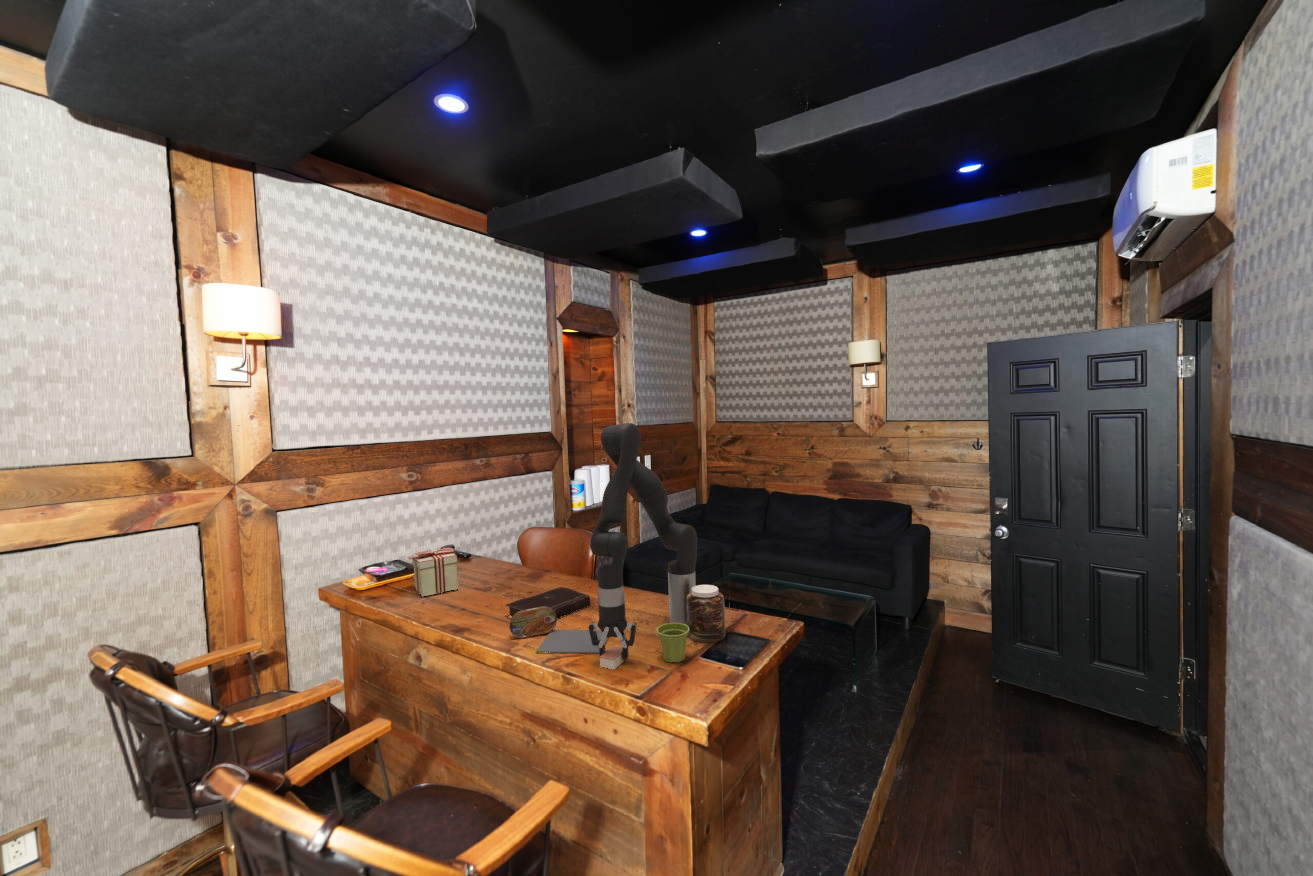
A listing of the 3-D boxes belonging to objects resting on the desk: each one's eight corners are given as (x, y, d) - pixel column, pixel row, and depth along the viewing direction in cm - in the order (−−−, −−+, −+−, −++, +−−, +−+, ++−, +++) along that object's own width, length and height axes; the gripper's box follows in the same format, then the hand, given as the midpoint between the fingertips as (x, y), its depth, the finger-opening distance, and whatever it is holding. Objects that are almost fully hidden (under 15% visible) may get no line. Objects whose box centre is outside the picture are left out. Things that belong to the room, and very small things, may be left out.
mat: (611, 631, 173) (611, 630, 173) (600, 654, 157) (600, 652, 157) (552, 631, 175) (552, 629, 175) (535, 653, 159) (535, 651, 159)
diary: (591, 608, 198) (590, 594, 197) (536, 630, 178) (536, 616, 178) (559, 597, 210) (558, 585, 209) (504, 617, 190) (504, 604, 190)
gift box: (446, 580, 237) (444, 542, 236) (461, 589, 223) (459, 549, 222) (406, 589, 226) (403, 549, 225) (419, 600, 212) (416, 557, 211)
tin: (510, 640, 169) (508, 614, 169) (510, 637, 172) (508, 611, 172) (558, 631, 173) (555, 606, 173) (557, 627, 176) (554, 603, 176)
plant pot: (651, 659, 153) (649, 629, 152) (673, 648, 159) (672, 619, 159) (674, 669, 146) (673, 638, 146) (697, 657, 153) (696, 628, 152)
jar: (714, 625, 175) (713, 580, 174) (732, 638, 164) (730, 591, 163) (682, 632, 171) (680, 586, 170) (697, 646, 160) (695, 597, 159)
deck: (627, 657, 154) (627, 647, 154) (614, 669, 147) (613, 659, 147) (614, 654, 156) (613, 645, 156) (600, 667, 149) (599, 656, 149)
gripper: (638, 596, 154) (640, 653, 154) (590, 596, 155) (592, 653, 156) (634, 606, 146) (637, 665, 147) (583, 606, 148) (586, 665, 149)
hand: (614, 659), depth 152 cm, fingers closed on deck, 5 cm apart
